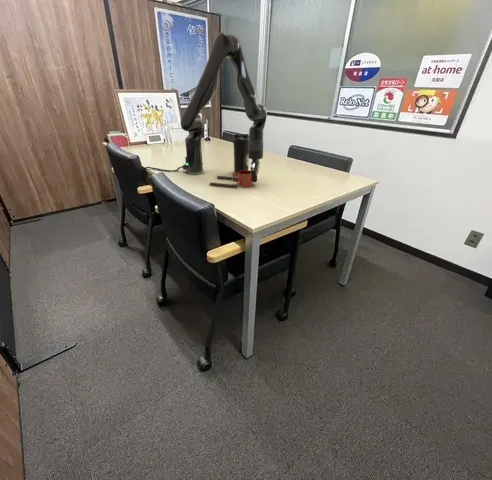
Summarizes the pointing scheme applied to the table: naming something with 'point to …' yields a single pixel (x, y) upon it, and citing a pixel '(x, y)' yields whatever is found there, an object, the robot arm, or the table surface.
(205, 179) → the table surface
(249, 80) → the robot arm
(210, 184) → the guide rails
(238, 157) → the water bottle
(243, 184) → the mug
